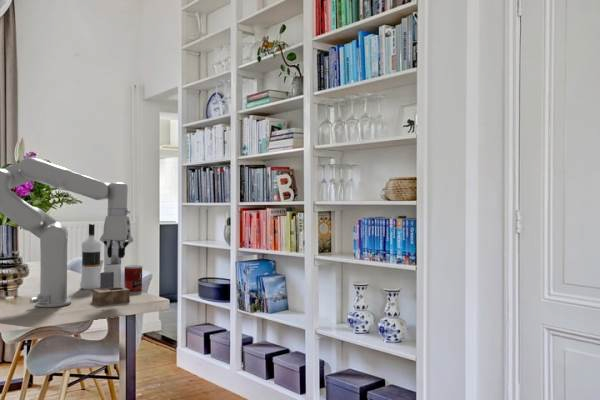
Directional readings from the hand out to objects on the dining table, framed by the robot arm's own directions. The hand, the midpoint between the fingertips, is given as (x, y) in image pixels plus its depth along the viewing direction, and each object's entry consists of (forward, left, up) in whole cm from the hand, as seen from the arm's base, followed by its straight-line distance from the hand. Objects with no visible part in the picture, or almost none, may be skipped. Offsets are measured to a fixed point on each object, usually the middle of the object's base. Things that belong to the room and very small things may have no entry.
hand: (116, 257), depth 217 cm
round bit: (0, 0, -3) cm, 3 cm away
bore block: (-2, +1, -18) cm, 18 cm away
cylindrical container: (+17, +17, -18) cm, 30 cm away
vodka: (+20, +32, -18) cm, 42 cm away
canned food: (+24, +11, -18) cm, 32 cm away
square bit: (+8, +12, -18) cm, 23 cm away
